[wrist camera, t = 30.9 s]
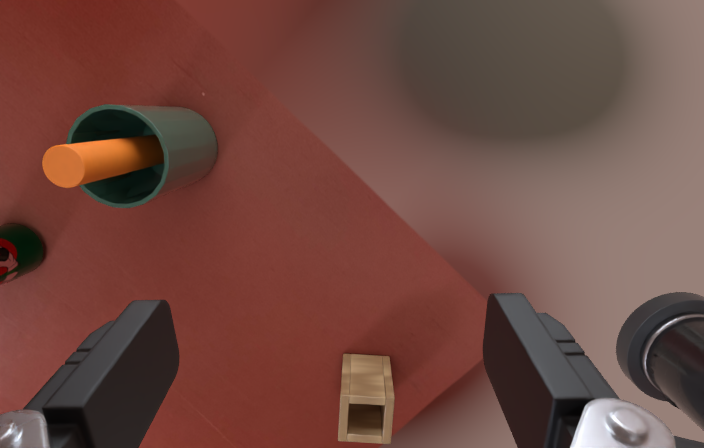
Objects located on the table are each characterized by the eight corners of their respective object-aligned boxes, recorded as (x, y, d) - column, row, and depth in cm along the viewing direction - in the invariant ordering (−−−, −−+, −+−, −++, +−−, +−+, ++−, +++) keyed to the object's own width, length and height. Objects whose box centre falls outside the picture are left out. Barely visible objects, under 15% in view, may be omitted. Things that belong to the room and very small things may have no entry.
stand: (389, 355, 46) (394, 398, 39) (386, 396, 47) (390, 444, 40) (343, 353, 46) (340, 395, 39) (340, 393, 47) (337, 441, 40)
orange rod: (182, 164, 41) (74, 195, 25) (159, 150, 41) (35, 173, 25) (194, 141, 40) (91, 159, 25) (170, 127, 40) (51, 136, 25)
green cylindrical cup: (217, 109, 40) (165, 107, 30) (218, 185, 42) (170, 210, 31) (139, 104, 40) (60, 101, 30) (144, 181, 42) (71, 204, 31)
